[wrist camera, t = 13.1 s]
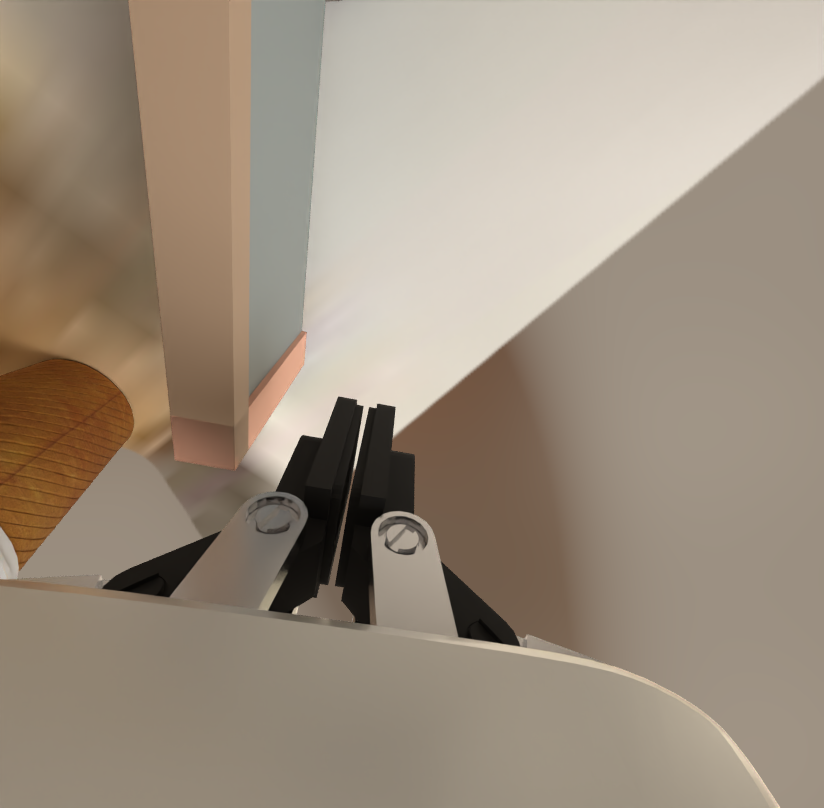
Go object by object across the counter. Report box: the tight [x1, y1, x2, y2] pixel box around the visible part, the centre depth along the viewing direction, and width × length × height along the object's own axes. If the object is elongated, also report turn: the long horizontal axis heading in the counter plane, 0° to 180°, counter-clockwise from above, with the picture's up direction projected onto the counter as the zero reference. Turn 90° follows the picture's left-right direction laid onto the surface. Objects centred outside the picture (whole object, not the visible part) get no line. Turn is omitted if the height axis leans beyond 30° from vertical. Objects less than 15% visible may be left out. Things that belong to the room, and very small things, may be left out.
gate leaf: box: [128, 0, 325, 471], centre depth 14 cm, size 16×2×9 cm, turn 169°
